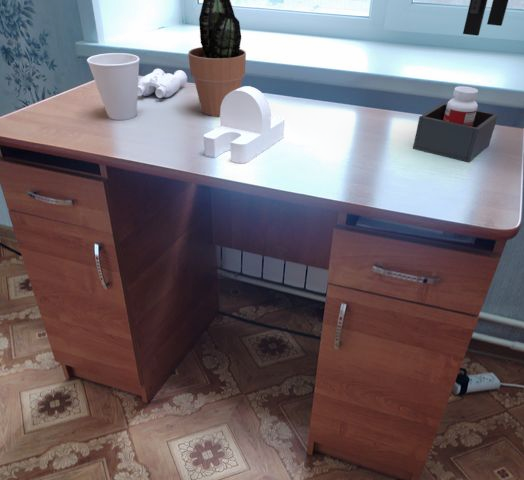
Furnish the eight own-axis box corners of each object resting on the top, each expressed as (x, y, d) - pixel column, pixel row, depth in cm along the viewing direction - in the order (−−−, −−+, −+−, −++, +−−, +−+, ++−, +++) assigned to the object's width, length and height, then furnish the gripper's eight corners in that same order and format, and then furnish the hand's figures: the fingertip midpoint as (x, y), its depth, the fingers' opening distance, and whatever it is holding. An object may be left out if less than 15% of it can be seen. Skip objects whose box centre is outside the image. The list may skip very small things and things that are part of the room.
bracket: (244, 164, 102) (244, 104, 94) (202, 154, 105) (198, 95, 98) (285, 136, 115) (287, 81, 107) (246, 128, 118) (246, 74, 110)
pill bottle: (432, 141, 112) (444, 86, 105) (454, 137, 114) (468, 84, 107) (450, 150, 108) (465, 94, 100) (472, 146, 110) (488, 91, 102)
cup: (105, 107, 129) (95, 52, 120) (151, 108, 128) (144, 53, 120) (91, 122, 120) (79, 63, 111) (141, 124, 119) (132, 65, 111)
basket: (488, 145, 112) (498, 114, 108) (469, 162, 105) (478, 129, 100) (435, 133, 118) (442, 103, 113) (412, 148, 110) (419, 116, 106)
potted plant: (182, 114, 125) (172, -8, 108) (207, 100, 135) (201, -15, 118) (232, 122, 121) (229, -4, 105) (254, 107, 131) (255, -11, 114)
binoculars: (188, 86, 144) (186, 68, 141) (168, 102, 133) (166, 83, 129) (153, 84, 146) (151, 66, 143) (131, 99, 134) (128, 80, 131)
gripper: (519, -119, 92) (484, 19, 106) (472, -126, 76) (439, 36, 90) (563, -120, 88) (521, 23, 102) (523, -128, 73) (480, 41, 87)
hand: (482, 29), depth 96 cm, fingers open, 13 cm apart
